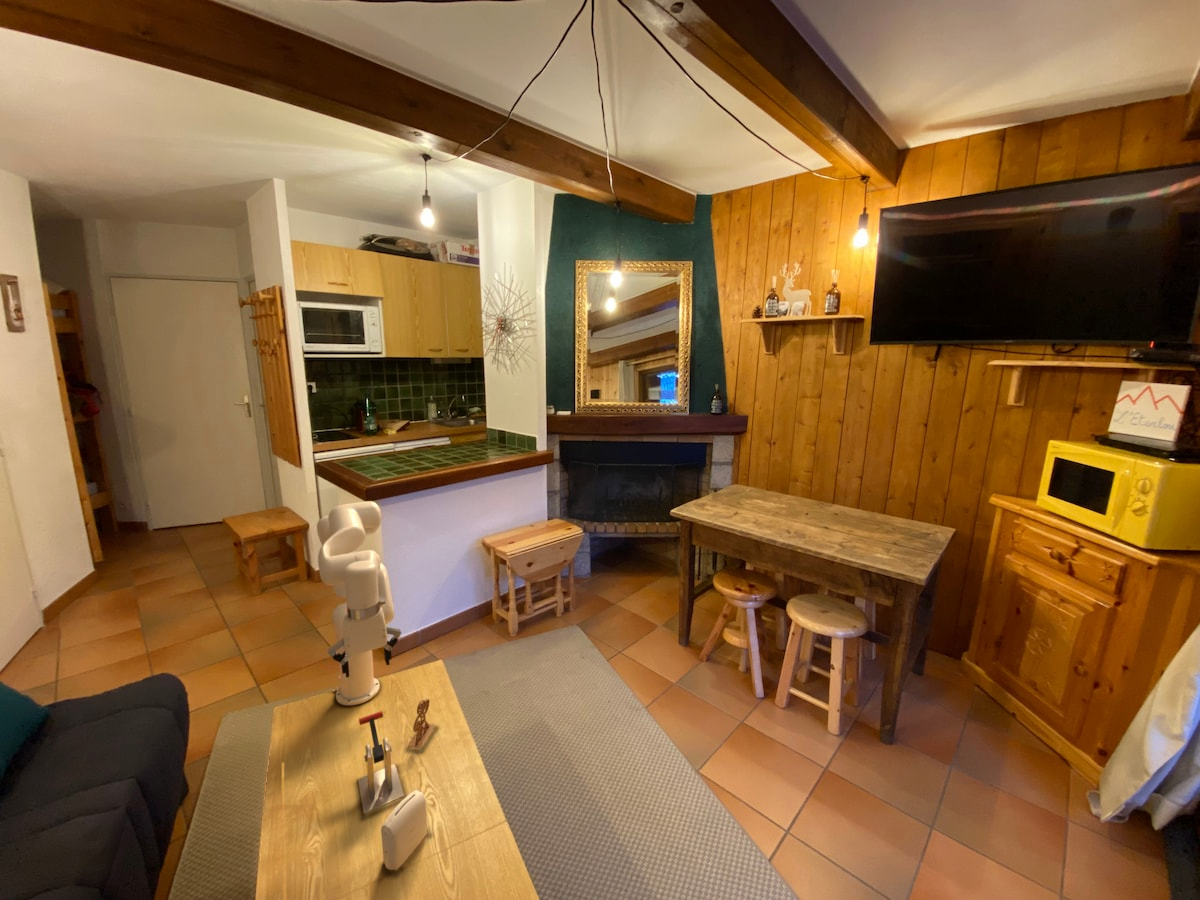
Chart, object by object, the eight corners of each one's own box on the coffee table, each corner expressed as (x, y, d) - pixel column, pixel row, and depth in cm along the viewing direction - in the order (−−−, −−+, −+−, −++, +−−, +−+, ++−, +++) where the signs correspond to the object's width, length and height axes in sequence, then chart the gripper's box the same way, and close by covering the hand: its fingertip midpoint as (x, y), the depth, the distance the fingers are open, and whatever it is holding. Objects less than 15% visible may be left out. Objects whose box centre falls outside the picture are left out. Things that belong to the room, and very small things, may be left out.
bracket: (357, 783, 122) (354, 740, 120) (395, 767, 127) (392, 725, 125) (364, 817, 113) (360, 771, 111) (404, 799, 118) (401, 755, 116)
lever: (359, 722, 125) (359, 716, 124) (381, 714, 128) (381, 708, 127) (366, 766, 116) (366, 761, 115) (391, 757, 119) (391, 751, 118)
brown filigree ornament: (420, 751, 132) (419, 714, 130) (407, 749, 133) (405, 712, 131) (436, 727, 141) (435, 692, 139) (424, 725, 142) (422, 690, 139)
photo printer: (395, 877, 101) (392, 829, 98) (380, 868, 102) (377, 820, 100) (430, 834, 110) (428, 789, 108) (416, 826, 112) (414, 781, 109)
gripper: (396, 594, 131) (399, 650, 134) (323, 611, 121) (328, 671, 125) (402, 606, 125) (405, 665, 128) (326, 625, 115) (331, 688, 119)
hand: (367, 668), depth 126 cm, fingers open, 9 cm apart
